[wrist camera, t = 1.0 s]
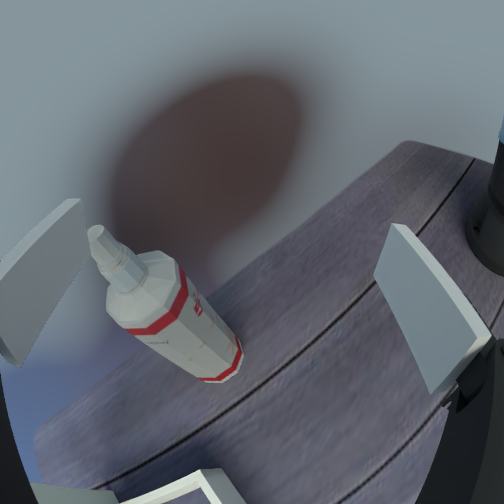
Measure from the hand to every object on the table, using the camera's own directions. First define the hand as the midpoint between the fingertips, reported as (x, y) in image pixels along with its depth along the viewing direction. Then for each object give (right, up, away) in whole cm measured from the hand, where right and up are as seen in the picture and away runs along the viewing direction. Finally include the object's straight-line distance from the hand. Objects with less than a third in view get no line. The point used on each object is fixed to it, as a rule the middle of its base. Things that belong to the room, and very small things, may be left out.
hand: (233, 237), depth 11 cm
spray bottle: (-4, -15, +26) cm, 30 cm away
